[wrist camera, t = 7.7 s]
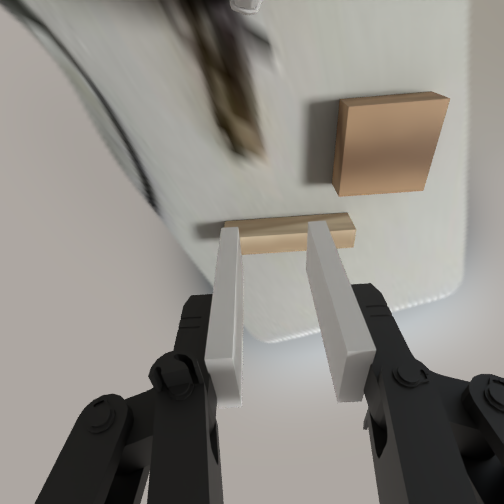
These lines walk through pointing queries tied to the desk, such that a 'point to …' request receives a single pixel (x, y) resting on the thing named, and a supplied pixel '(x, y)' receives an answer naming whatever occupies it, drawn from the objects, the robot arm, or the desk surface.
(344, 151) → the slab
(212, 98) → the desk surface
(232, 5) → the mug
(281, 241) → the rail
